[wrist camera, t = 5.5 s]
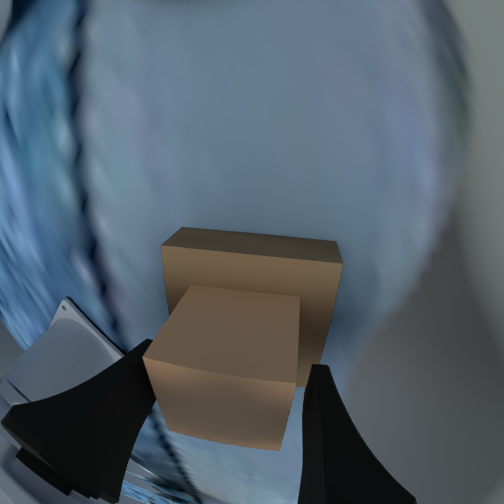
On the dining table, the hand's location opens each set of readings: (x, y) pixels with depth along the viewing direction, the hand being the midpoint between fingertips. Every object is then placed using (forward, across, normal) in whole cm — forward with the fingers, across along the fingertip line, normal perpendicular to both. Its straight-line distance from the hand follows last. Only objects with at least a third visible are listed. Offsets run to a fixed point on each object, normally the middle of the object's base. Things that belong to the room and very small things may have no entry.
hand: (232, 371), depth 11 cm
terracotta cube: (+3, 0, 0) cm, 3 cm away
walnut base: (+6, 0, 0) cm, 6 cm away
